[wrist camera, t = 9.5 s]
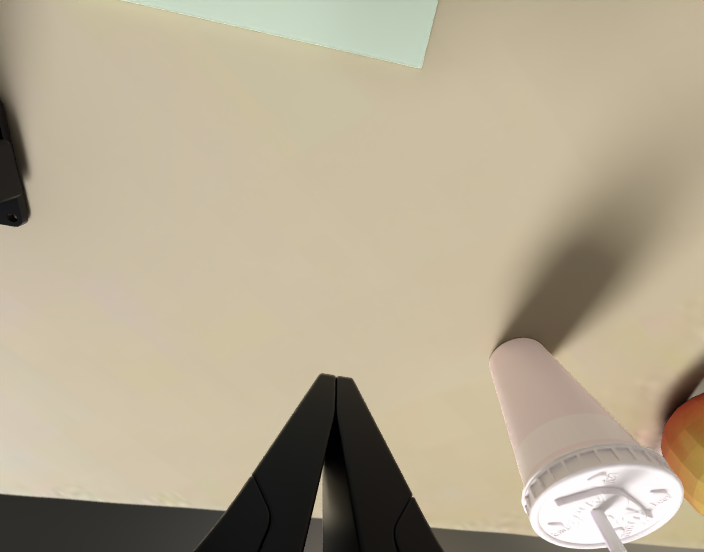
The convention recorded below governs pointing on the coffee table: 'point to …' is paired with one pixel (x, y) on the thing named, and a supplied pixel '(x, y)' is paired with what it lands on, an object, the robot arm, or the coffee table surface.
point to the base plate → (326, 23)
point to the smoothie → (577, 456)
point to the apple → (687, 449)
